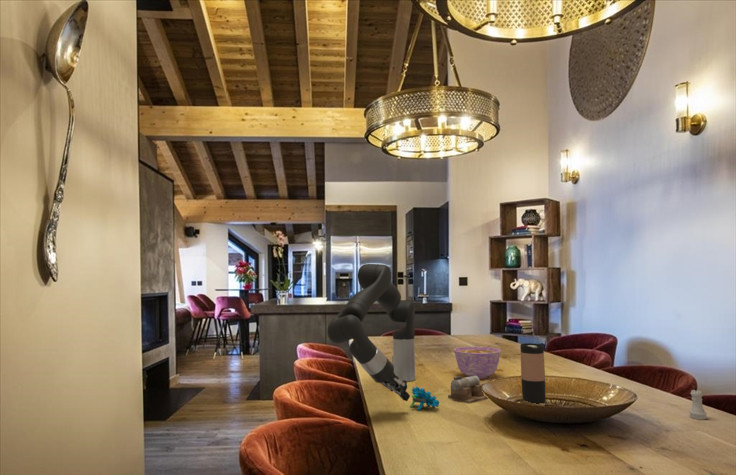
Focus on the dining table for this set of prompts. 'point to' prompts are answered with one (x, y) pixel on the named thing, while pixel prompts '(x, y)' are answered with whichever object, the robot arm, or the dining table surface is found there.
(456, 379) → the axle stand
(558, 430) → the dining table surface
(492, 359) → the bowl of food
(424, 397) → the gear
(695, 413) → the rook chess piece
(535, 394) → the travel mug
